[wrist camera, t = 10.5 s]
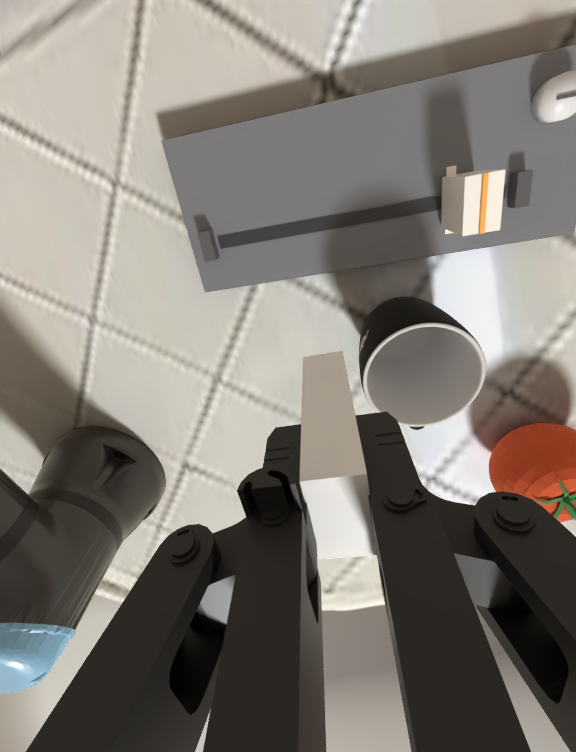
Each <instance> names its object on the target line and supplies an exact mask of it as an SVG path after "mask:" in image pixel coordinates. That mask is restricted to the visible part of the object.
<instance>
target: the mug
mask: <svg viewBox="0 0 576 752" xmlns="http://www.w3.org/2000/svg"><path fill="white" fill-rule="evenodd" d="M359 365H360V376H361V382H362V387H363V391H364V394H365V396H366V399H367V401H368V402H369V404H370V405H371V407H372V408H373V409H374V410H375V411H376V412H377V413H379V412H386V411H387V412H388V413H389V414H390V415H392V416H393V417H394V418H395V419H396V420H397V421H398V424H400V425H404V426H410V428H412V429H414V430H419V429H422V428H424V427H425V426H429V425H434V424H438V423H441V422H443V421H446V420H448V419H450V418H452V417H454V416H456V415H457V414H459V413H460V412H462V411H463V410H464V409H465V408H467V407H468V406H469V405H470V404H471V403H472V401H473V400H474V399H475V398H476V396H477V395H478V393H479V392H480V390H481V388H482V385H483V382H484V379H485V374H486V362H485V357H484V354H483V351H482V349H481V347H480V345H479V344H478V342H477V341H476V340H475V338H474V337H473V336H472V335H471V334H470V333H469V332H468V331H467V330H466V329H465V328H464V327H463V326H462V325H461V324H460V323H458V322H457V321H456V320H455V319H454V318H452V317H451V316H450V315H448V314H447V313H445V312H444V311H442V310H441V309H439V308H438V307H436V306H434V305H432V304H430V303H428V302H426V301H423V300H420V299H417V298H412V297H399V298H394V299H391V300H388V301H386V302H384V303H382V304H380V305H379V306H378V307H376V308H375V309H374V310H373V311H372V312H371V314H370V315H369V316H368V318H367V320H366V321H365V324H364V326H363V329H362V333H361V338H360V346H359Z"/></svg>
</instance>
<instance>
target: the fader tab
mask: <svg viewBox="0 0 576 752" xmlns="http://www.w3.org/2000/svg"><path fill="white" fill-rule="evenodd" d="M505 170H506V169H503V170H478V171H471V172H466V173H461V174H455V175H450V176H445V177H442V210H441V228H444V229H446V230H449V231H451V232H453V233H456V234H458V235H460V236H467V235H473V234H483V233H485V232H491V231H497V230H500V225H501V214H502V203H503V192H504V181H505Z"/></svg>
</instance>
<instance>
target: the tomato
mask: <svg viewBox="0 0 576 752" xmlns="http://www.w3.org/2000/svg"><path fill="white" fill-rule="evenodd" d="M489 474H490V479H491V482H492V484H493V487H494V489H495V491H496V492H501V491H503V492H511V493H517V494H520V495H522V496H525V497H528V498H530V499H532V500H534V501H535V502H536V503H538V504H539V505H541V506H542V507H544V508H545V509H546V510H547V511H548V512H549V513H550V514H551V515H552V516H553V517H554V518H556V519H557V520H558V521H559V522H564V521H568V520H572V519H575V520H576V430H574V429H572V428H569V427H567V426H564V425H559V424H553V423H533V424H529V425H525V426H522V427H520V428H516V429H514V430H512V431H511V432H509V433H508V434H506V435H505V436H504V437H503V438H502V439H501V440H500V441H499V442H498V443H497V444H496V446H495V447H494V449H493V451H492V454H491V457H490V461H489Z"/></svg>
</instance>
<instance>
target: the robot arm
mask: <svg viewBox="0 0 576 752" xmlns="http://www.w3.org/2000/svg"><path fill="white" fill-rule="evenodd" d="M165 486H166V479H165V474H164V471H163V468H162V466H161V464H160V463H159V461H158V460H157V458H156V457H155V456H154V455H153V453H152V452H151V451H150V450H149V449H148V448H146V447H145V446H144V445H143V444H141V443H140V442H139V441H137V440H135V439H134V438H132V437H130V436H128V435H126V434H124V433H121V432H118V431H116V430H112V429H108V428H102V427H83V428H78V429H74V430H72V431H70V432H68V433H66V434H65V435H63V436H62V437H61V438H60V439H59V440H58V441H57V442H56V443H55V444H54V445H53V446H52V447H51V448H50V450H49V451H48V452H47V454H46V456H45V458H44V461H43V464H42V468H41V470H40V472H39V474H38V476H37V478H36V480H35V482H34V484H33V486H32V489H31V491H30V492H29V494H27V493H26V492H25V491H23V490H22V489H21V488H20V487H19V486H18V485H17V484H16V483H15V482H14V481H13V480H12V479H11V478H10V477H9V476H8V475H7V474H6V473H5V472H3V471H2V470H1V469H0V694H5V693H14V692H18V691H23V690H26V689H28V688H30V687H32V686H34V685H36V684H38V683H39V682H40V681H42V680H43V679H44V678H45V677H46V676H47V674H48V673H49V672H50V671H51V669H52V668H53V666H54V664H55V663H56V661H57V660H58V658H59V656H60V654H61V653H62V651H63V650H64V648H65V647H66V645H67V644H68V642H69V640H70V639H71V638H72V637H73V636H74V634H75V629H76V627H77V625H78V623H79V621H80V620H81V618H82V616H83V614H84V612H85V610H86V608H87V606H88V605H89V603H90V601H91V599H92V597H93V595H94V594H95V592H96V590H97V588H98V586H99V584H100V582H101V581H102V579H103V577H104V575H105V573H106V571H107V569H108V568H109V566H110V564H111V562H112V560H113V558H114V556H115V554H116V552H117V551H118V549H119V547H120V545H121V544H122V542H123V540H124V539H125V538H126V537H128V536H129V535H130V534H131V533H132V532H133V531H134V530H135V529H136V528H137V527H138V525H139V524H140V523H141V522H142V521H143V520H144V519H146V518H147V517H148V516H149V515H150V514H151V513H152V512H153V511H154V510H155V509H156V507H157V505H158V503H159V501H160V499H161V497H162V495H163V493H164V491H165ZM237 492H238V495H239V497H240V500H241V503H242V506H243V508H244V511H245V514H246V518H244V519H243V520H242V521H240V522H239V523H237V524H235V525H233V526H231V527H228V528H226V529H223V530H220V531H218V532H215V533H213V534H212V532H211V531H210V530H209V529H208V528H207V527H205V526H202V525H200V524H196V525H187V526H185V527H182V528H180V529H177V530H176V531H175V532H173V533H172V534H170V535H169V536H168V537H167V538H166V539H165V540H164V541H163V543H162V544H161V545H160V546H159V548H158V549H157V551H156V552H155V554H154V555H153V557H152V559H151V560H150V562H149V563H148V565H147V566H146V568H145V569H144V571H143V572H142V574H141V575H140V577H139V579H138V580H137V582H136V583H135V585H134V586H133V588H132V589H131V591H130V592H129V594H128V595H127V597H126V598H125V600H124V602H123V603H122V605H121V606H120V608H119V609H118V611H117V612H116V614H115V615H114V617H113V619H112V620H111V622H110V623H109V625H108V627H107V628H106V629H105V631H104V632H103V634H102V636H101V637H100V639H99V640H98V642H97V643H96V645H95V646H94V648H93V649H92V651H91V652H90V654H89V655H88V657H87V658H86V660H85V662H84V663H83V665H82V666H81V668H80V669H79V671H78V672H77V674H76V675H75V677H74V679H73V680H72V682H71V683H70V685H69V686H68V688H67V689H66V691H65V693H64V694H63V695H62V697H61V698H60V700H59V702H58V703H57V705H56V706H55V708H54V709H53V711H52V712H51V714H50V715H49V717H48V718H47V720H46V722H45V723H44V725H43V726H42V728H41V729H40V731H39V732H38V734H37V735H36V737H35V738H34V740H33V742H32V743H31V745H30V746H29V748H28V749H27V751H26V752H195V750H196V747H197V744H198V742H199V739H200V736H201V733H202V731H203V728H204V725H205V722H206V720H207V717H208V714H209V712H210V709H211V712H210V717H209V722H208V728H207V733H206V739H205V744H204V749H203V752H326V733H325V703H324V702H325V701H324V670H323V641H322V609H321V581H320V577H319V573H318V569H317V553H318V557H319V560H322V559H334V558H345V557H357V556H369V555H377V558H378V564H379V571H380V578H381V586H382V593H383V596H384V600H385V606H386V611H387V617H388V623H389V628H390V634H391V639H392V645H393V651H394V656H395V662H396V667H397V673H398V678H399V684H400V690H401V695H402V701H403V706H404V712H405V718H406V723H407V729H408V734H409V739H410V745H411V751H412V752H531V751H530V748H529V746H528V743H527V741H526V738H525V735H524V733H523V731H522V728H521V725H520V723H519V720H518V717H517V715H516V712H515V710H514V707H513V705H512V702H511V699H510V697H509V694H508V692H507V689H506V687H505V684H504V681H503V679H502V676H501V674H500V671H499V668H498V666H497V663H496V661H495V658H494V656H493V653H492V650H491V648H490V645H489V643H488V640H487V638H486V635H485V633H484V630H483V627H482V625H481V623H480V620H479V617H478V615H477V612H476V609H475V607H474V605H476V607H477V609H478V610H479V612H480V613H481V615H482V616H483V618H484V619H485V621H486V622H487V624H488V626H489V627H490V629H491V630H492V632H493V633H494V635H495V636H496V638H497V639H498V641H499V642H500V644H501V645H502V647H503V648H504V650H505V652H506V653H507V655H508V656H509V658H510V659H511V661H512V662H513V664H514V665H515V667H516V668H517V670H518V672H519V673H520V675H521V676H522V678H523V679H524V681H525V682H526V684H527V685H528V687H529V688H530V690H531V691H532V693H533V695H534V696H535V698H536V699H537V700H538V702H539V704H540V705H541V706H542V708H543V710H544V711H545V713H546V714H547V716H548V718H549V719H550V721H551V722H552V724H553V725H554V727H555V728H556V730H557V731H558V733H559V734H560V736H561V737H562V739H563V741H564V742H565V743H566V745H567V747H568V748H569V750H570V751H571V752H576V537H575V536H574V535H573V534H572V533H571V532H570V531H569V530H568V529H566V528H565V527H564V526H563V525H562V524H561V523H560V522H559V521H558V520H557V519H556V518H554V517H553V516H552V515H551V514H550V513H549V512H548V511H547V510H546V509H545V508H544V507H542V506H541V505H539V504H538V503H536V502H535V501H534V500H532V499H530V498H528V497H525V496H522V495H520V494H517V493H511V492H503V491H501V492H494V493H489V494H487V495H485V496H483V497H481V498H480V499H479V500H478V502H477V504H476V505H468V504H462V503H455V502H451V501H447V500H444V499H441V498H439V497H437V496H435V495H433V494H432V493H430V492H429V491H428V490H427V489H426V488H425V487H424V486H423V485H422V483H421V481H420V480H419V477H418V474H417V472H416V469H415V466H414V464H413V461H412V458H411V456H410V453H409V450H408V448H407V445H406V444H405V440H404V437H403V434H402V432H401V429H400V426H399V424H398V421H397V420H396V419H395V418H394V417H393V416H392V415H390V414H389V413H388V412H387V411H386V412H379V413H372V414H365V415H357V416H355V412H354V407H353V402H352V397H351V392H350V387H349V382H348V377H347V372H346V367H345V362H344V357H343V352H342V351H340V352H334V353H327V354H321V355H315V356H309V357H303V385H302V418H301V424H300V425H292V426H285V427H278V428H275V429H274V430H273V432H272V433H271V435H270V436H269V437H268V439H267V445H266V453H265V457H264V464H263V468H261V469H258V470H256V471H254V472H252V473H251V474H249V475H248V476H247V477H246V478H245V479H244V480H243V481H242V482H241V483H240V485H239V488H238V490H237Z"/></svg>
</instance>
